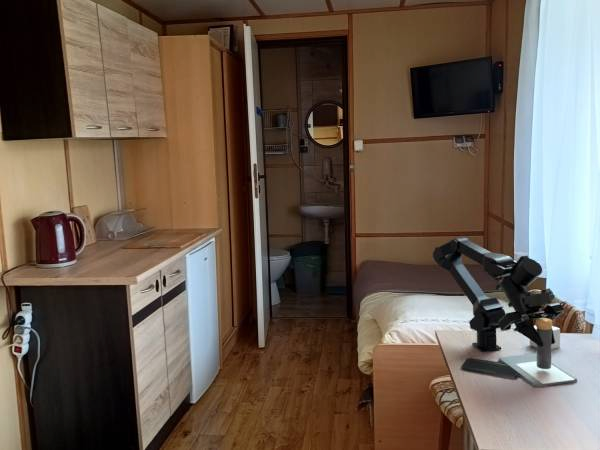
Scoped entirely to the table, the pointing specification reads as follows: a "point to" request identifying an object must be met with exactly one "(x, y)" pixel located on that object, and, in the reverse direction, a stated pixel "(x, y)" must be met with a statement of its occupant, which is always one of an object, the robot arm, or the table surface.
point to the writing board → (537, 370)
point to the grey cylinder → (546, 336)
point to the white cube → (556, 336)
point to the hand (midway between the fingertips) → (548, 344)
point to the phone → (489, 368)
